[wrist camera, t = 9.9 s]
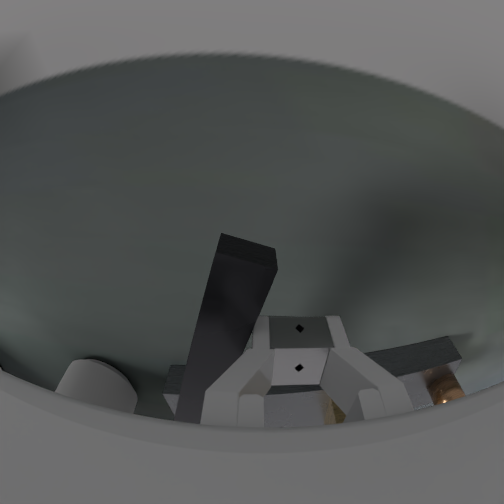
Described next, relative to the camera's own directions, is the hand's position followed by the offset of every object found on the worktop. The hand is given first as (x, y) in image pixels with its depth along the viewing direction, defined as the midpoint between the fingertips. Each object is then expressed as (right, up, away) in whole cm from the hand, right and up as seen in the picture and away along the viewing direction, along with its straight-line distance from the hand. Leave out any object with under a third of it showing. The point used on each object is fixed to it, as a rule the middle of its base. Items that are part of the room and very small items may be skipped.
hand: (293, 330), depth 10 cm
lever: (-4, -5, +3) cm, 7 cm away
